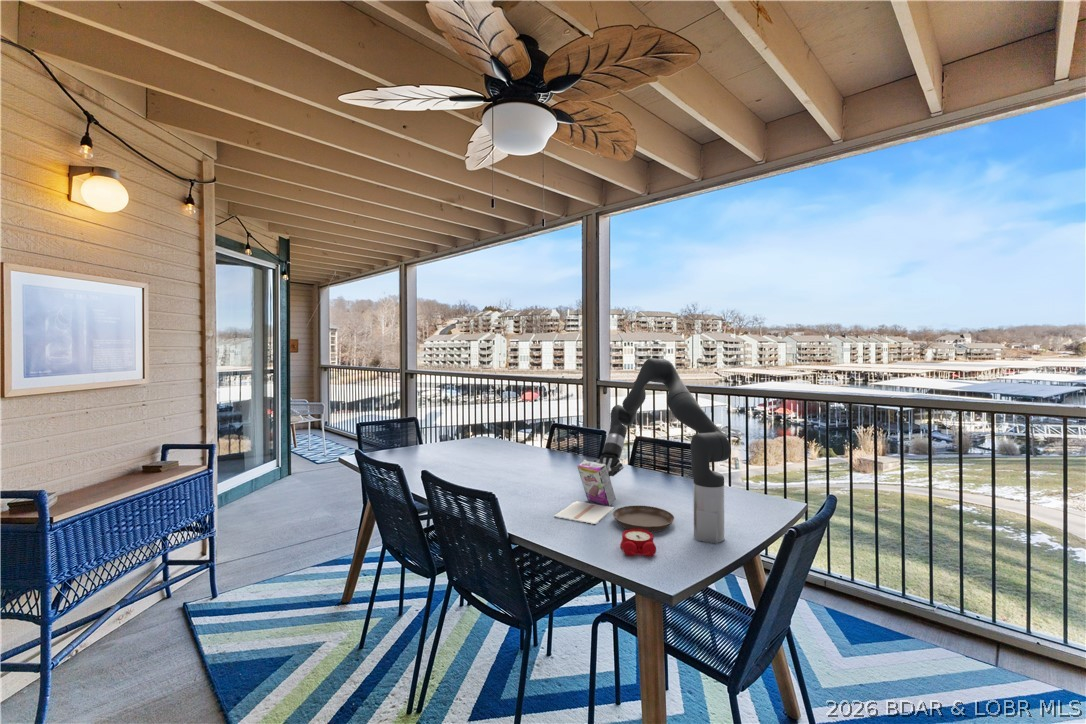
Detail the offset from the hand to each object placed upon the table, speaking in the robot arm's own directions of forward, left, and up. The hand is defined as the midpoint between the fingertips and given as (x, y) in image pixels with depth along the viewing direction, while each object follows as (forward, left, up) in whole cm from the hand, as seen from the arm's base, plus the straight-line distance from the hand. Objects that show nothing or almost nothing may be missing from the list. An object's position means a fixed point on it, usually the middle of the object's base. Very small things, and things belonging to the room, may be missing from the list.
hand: (602, 483), depth 184 cm
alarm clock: (-36, -26, -8) cm, 45 cm away
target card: (-14, +1, -7) cm, 16 cm away
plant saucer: (-14, -21, -8) cm, 27 cm away
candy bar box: (-1, 0, -7) cm, 7 cm away
